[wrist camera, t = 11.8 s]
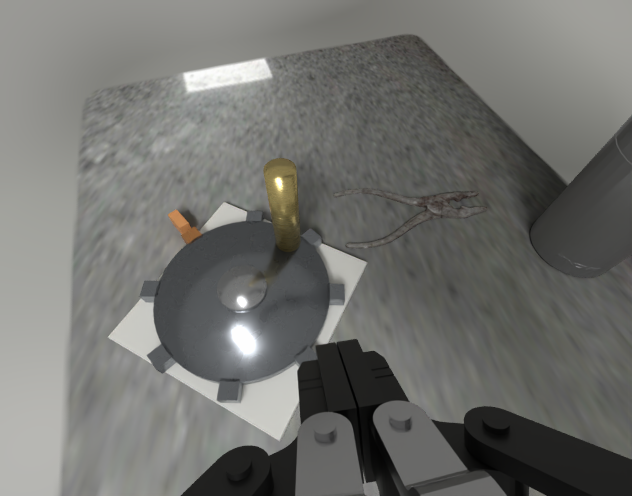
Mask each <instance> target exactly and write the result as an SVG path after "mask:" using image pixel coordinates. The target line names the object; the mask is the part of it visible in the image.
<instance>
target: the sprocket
mask: <svg viewBox="0 0 632 496" xmlns="http://www.w3.org/2000/svg"><path fill="white" fill-rule="evenodd" d="M264 177H265V183H266V188H267V194H268V200H269V206H270V211H271V217H272V223H268V222H264V217H263V212H262V211H247V217H246V221H242V222H235V223H230V224H226V225H222V226H220V227H217V228H214V229H212V230H210V231H207V232H205V233H203V234H201V233H200V232H199V231H198V230H197V229H196V228H195V227H193V228H191V229H190V230H188V231H187V232H185V233H184V234H182V235H181V236H182V238H183V240H184V241H185V243H186V244H187V245H186V246H185V247H184V248H183V249H181V250H180V251H179V252H178V253H177V254H176V256H175V257H174V258H173V259H172V260H171V262H170V263H169V265H168V266H167V267H166V269H165V271H164V273H163V275H162V276H161V278H160V281H144V284H143V287H142V290H141V293H140V296H139V297H141V298H142V299H143V300H144V301H145V302H148V303H154V306H153V316H154V324H155V328H156V332H157V335H158V337H159V340H160V342H161V344H160V345H159V346H158V347H156V348H155V349H154V350H153V351H151V352H150V353H149V354H147V357H148V358H149V360H150V361H151V363H152V364H153V366H154V367H155V368H156V370H158V371H159V372H161V373H164V372H165V371H166V370H168V369H169V368H170V367H171V366H173V365H174V364H175V363H176V362H177V363H178V364H179V365H180V366H182V367H183V368H184V369H186V370H187V371H188V372H190V373H192V374H193V375H195V376H197V377H199V378H201V379H204V380H206V381H209V382H213V383H217V384H219V388H218V394H217V401H219V402H220V403H241V396H242V388H243V385H247V384H252V383H257V382H261V381H264V380H267V379H270V378H272V377H274V376H277V375H279V374H281V373H283V372H284V371H286V370H287V369H289V368H290V367H292V366H293V365H295V364H296V365H297V366H298V367H300V365H301V363H302V362H304V361H311V360H317V358H316V353H315V352H314V351H313V350H312V349H311V348H312V346H313V345H314V344H315V342H316V341H317V339H318V338H319V336H320V334H321V332H322V330H323V328H324V325H325V322H326V319H327V315H328V310H329V305H344V302H345V284H330V283H329V277H328V273H327V270H326V267H325V265H324V262H323V260H322V259H321V257H320V255H319V254H318V252H317V251H316V250H315V249H316V248H318V247H319V246H320V245H321V238H322V237H321V236H319V235H318V234H317V233H316V232H315V231H313V230H312V229H311V228H310V229H309V230H308V231H306V232H305V233H304V234H302V235H301V236H300V222H299V206H298V190H297V174H296V166H295V164H294V163H293V162H292V161H290V160H288V159H284V158H277V159H273V160H271V161H269V162H268V163H267V164H266V165H265V166H264Z"/></svg>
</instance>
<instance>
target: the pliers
mask: <svg viewBox="0 0 632 496" xmlns="http://www.w3.org/2000/svg"><path fill="white" fill-rule="evenodd" d="M358 193H363V194H374V195H378V196H382V197H385V198H388V199H392V200H395V201H398V202H401V203H404V204H408V205H413V206H419V207H425V208H426V210H425V211H424V212H422V213H420V214H418V215H416V216H415V217H413V218H411V219H410V220H409V221H407V222H406V223H405V224H404V225H403V226H401V227H400V228H399V229H398V230H396V231H395V232H394V233H392V234H391V235H389V236H387V237H385V238H383V239H380V240H376V241H372V242H367V243H347V244H346V247H347V248H358V249H360V248H370V247H376V246H380V245H384V244H387V243H389V242H392V241H393V240H395V239H397V238H399V237H400V236H402V235H403V234H404V233H406V232H407V231H409V230H410V229H412V228H413V227H415V226H416V225H418V224H420V223H422V222H424V221H427V220H431V219H436V218H440V217H441V218H467V217H470V216H472V215H475V214H478V213H481V212H484V211H486V210H487V207H473V208H467V207H465V206H462V207H461V209H459V210H457V209H454V208H453V207H452V206H449V205H448V204H449V202H450V200H455V201H456V202H458V201H460V200H461V199H462V198H471V197H474V196H477V195H478V194H479V193H478V192H450V193H444V194H439V195H435V196H430V197H422V198H411V197H405V196H401V195H397V194H393V193H389V192H385V191H381V190H376V189H351V190H345V191H341V192H337V193H335V194H334V195H333V196H334V197H339V196H343V195H348V194H358Z"/></svg>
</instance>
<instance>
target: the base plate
mask: <svg viewBox="0 0 632 496" xmlns="http://www.w3.org/2000/svg"><path fill="white" fill-rule="evenodd" d="M168 216H169V218H170V220H171V221H172V223H173V225H174V226H175V227H176V228H177V229H178V230H179V231H180V233H181V234H184V233H185V232H187V231H188V230H190V229H191V227H190V225H189V223H188V222H187V221H186V220H185V218H184V217H183V216H182V215H181V214H180V213H179V212H178V211H177V210H175V211H173V212H171V213H170V214H168ZM246 217H247V212H246V211H244V210H242V209H239V208H237V207H234V206H232V205H230V204H227V203H225V202H224V203H223V204H222V205H221V206H220V208H219V209H218V210H217V211H216V212H215V213H214V215H213V216H212V217H211V218H210V219H209V220H208V222H207V223H206V224H205V225H204V226H203V227H202V229H201V230H200V231H199V232H200V233H201V234H203V233H205V232H207V231H210V230H212V229H214V228H217V227H220V226H222V225H226V224H230V223H235V222H242V221H246ZM264 222H268V223H272V222H270V221H268V220H265V219H264ZM300 236H301V234H300ZM315 250H316V251H317V252H318V254H319V255H320V257H321V259H322V260H323V262H324V265H325V267H326V270H327V273H328V277H329V283H330V284H345V302H344V305H329V310H328V315H327V319H326V322H325V325H324V328H323V330H322V332H321V334H320V336H319V338H318V339H317V341H316V342H315V344H314V345H313V346H312V348H311V349H312V350H313V351H314V352H315V353H316V350H315V345H320V344H327V343H329V341H330V339H331V337H332V335H333V333H334V331H335V329H336V327H337V325H338V323H339V321H340V319H341V317H342V315H343V313H344V310H345V308H346V306H347V304H348V302H349V300H350V298H351V296H352V294H353V292H354V290H355V288H356V286H357V284H358V282H359V280H360V278H361V276H362V274H363V272H364V270H365V268H366V265H367V262H365V261H363V260H360V259H358V258H355V257H353V256H351V255H348V254H346V253H344V252H341V251H339V250H336V249H334V248H332V247H329V246H327V245H325V244H322V243H321V245H320V246H319V247H318V248H316V249H315ZM162 275H163V274H162ZM162 275H161V276H162ZM161 276H160V277H159V278H158V280H157V281H160V278H161ZM153 306H154V303H148V302H145V301H144V300H143V299H142V298H141V299H140V300H139V302H138V303H137V304H136V305H135V306H134V307H133V309H132V310H131V311H130V312H129V313H128V314H127V316H126V317H125V318H124V319H123V320H122V321H121V322H120V324H119V325H118V326H117V327H116V328H115V329H114V331H113V332H112V333H111V334H110V335H109V336H108V338H110V339H111V340H113V341H115V342H116V343H118V344H120V345H121V346H123V347H125V348H126V349H128V350H130V351H131V352H133V353H135V354H136V355H138V356H140V357H141V358H143V359H145V360H146V361H148V362H150V363H151V361H150V360H149V358H148V357H147V354H149V353H150V352H151V351H153V350H154V349H155V348H156V347H158V346H159V345H160V344H161V342H160V340H159V337H158V335H157V332H156V328H155V324H154V316H153ZM151 364H152V363H151ZM298 369H299V367H298V366H297V365H296V364H295V365H293V366H292V367H290V368H289V369H287V370H286V371H284V372H283V373H281V374H279V375H277V376H274V377H272V378H270V379H267V380H264V381H261V382H257V383H252V384H247V385H243V388H242V396H241V403H220V402H219V401H217V394H218V388H219V384H217V383H213V382H209V381H206V380H204V379H201V378H199V377H197V376H195V375H193V374H192V373H190V372H188V371H187V370H186V369H184V368H183V367H182V366H180V365H179V364H178V363H177V362H176V363H175V364H174V365H173V366H171V367H170V368H169V369H168V370H166V371H165V372H166V373H168V374H169V375H171V376H173V377H174V378H176V379H178V380H179V381H181V382H183V383H184V384H186V385H188V386H189V387H191V388H193V389H194V390H196V391H198V392H199V393H201V394H203V395H204V396H206V397H207V398H209V399H211V400H212V401H214V402H216V403H217V404H219V405H221V406H222V407H224V408H226V409H227V410H229V411H231V412H232V413H234V414H236V415H237V416H239V417H241V418H242V419H244V420H246V421H247V422H249V423H251V424H252V425H254V426H256V427H257V428H259V429H260V430H262V431H264V432H265V433H267V434H269V435H270V436H272V437H274V438H275V439H277V440H279V441H281V439H282V437H283V435H284V433H285V431H286V429H287V427H288V425H289V423H290V421H291V419H292V417H293V414H294V412H295V410H296V408H297V406H298V404H299V391H298V378H297V370H298Z"/></svg>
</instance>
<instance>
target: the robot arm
mask: <svg viewBox="0 0 632 496" xmlns="http://www.w3.org/2000/svg"><path fill="white" fill-rule="evenodd" d="M530 235H531V241H532V244H533V246H534V248H535V249H536V251H537V253H538V254H539V255H540V256H541V257H542V258H543V259H544V260H545V261H546V262H547V263H549V264H550V265H551V266H553V267H554V268H556V269H558V270H560V271H562V272H564V273H566V274H569V275H573V276H576V277H584V278H588V277H596V276H600V275H602V274H603V273H605V272H607V271H608V270H610V269H611V268H613V267H614V266H616V265H617V264H619V263H620V262H622V261H623V260H625V259H626V258H628V257H630V256H631V255H632V115H631V117H630V118H629V119H628V120H627V121H626V122H625V123H624V124H623V125H622V127H621V128H620V129H619V130H618V131H617V132H616V133H615V134H614V136H613V137H612V138H611V139H610V140H609V141H608V142H607V144H605V146H604V147H603V148H602V149H601V150H600V151H599V152H598V153H597V155H595V157H594V158H593V159H592V160H591V161H590V162H589V163H588V164H587V166H585V168H584V169H583V170H582V171H581V172H580V173H579V174H578V175H577V176H576V177H575V179H574V180H573V181H572V182H571V183H570V184H569V185H568V186H567V187H566V188H565V190H564V191H563V192H562V193H561V194H560V195H559V196H558V197H557V198H556V199H555V200H554V201H553V203H552V204H551V205H550V206H549V207H548V208H547V209H546V210H545V211H544V212H543V214H542V215H541V216H540V217H539V218H538V219H537V220H536V221H535V222H534V224H533V226H532V227H531V232H530ZM315 350H316V358H317V360H311V361H304V362H302V363H301V365H300V367H299V369H298V370H297V378H298V391H299V405H300V418H301V426H300V428H299V430H298V436H297V437H296V439H295V440H294V441H293V442H292V443H291V444H290V445H289V446H287V447H286V448H284V449H282V450H280V451H278V452H276V453H274V454H272V455H270V456H268V454H267V453H266V452H265V451H264V450H263V449H261V448H259V447H257V446H241V447H237V448H235V449H232V450H230V451H228V452H227V453H225V454H224V455H222V456H221V457H220V458H219V459H218V460H217V461H216V462H215V463H214V464H213V465H212V466H211V467H210V468H209V469H208V470H207V471H206V472H205V473H204V474H202V475H201V476H200V477H199V478H198V479H197V480H196V481H195V482H194V483H193V484H192V485H191V486H190V487H189V488H188V489H187V490H186V491H185V492H184V493H183V494H182V495H181V496H365V495H364V489H363V484H364V479H363V473H364V476H365V480H366V483H368V482H374V481H376V483H377V486H378V489H379V494H380V496H529V487H531V488H533V489H535V490H537V491H539V492H541V493H543V494H545V495H547V496H632V460H631V459H629V458H626V457H624V456H621V455H619V454H616V453H613V452H611V451H608V450H606V449H603V448H601V447H598V446H596V445H593V444H590V443H588V442H585V441H583V440H580V439H578V438H575V437H572V436H570V435H567V434H565V433H562V432H560V431H557V430H555V429H552V428H549V427H547V426H544V425H542V424H539V423H537V422H534V421H532V420H529V419H526V418H524V417H521V416H519V415H516V414H514V413H511V412H509V411H506V410H503V409H500V408H496V407H487V406H484V407H477V408H474V409H471V410H470V411H468V412H467V413H466V415H465V417H464V424H460V423H447V422H439V421H435V420H432V419H430V418H429V417H428V415H427V414H426V412H425V411H424V410H423V409H422V408H420V407H419V406H417V405H415V404H413V403H410V402H409V400H408V398H407V397H406V395H405V393H404V391H403V390H402V388H401V386H400V384H399V383H398V381H397V379H396V377H395V376H394V374H393V372H392V370H391V369H390V368H389V365H388V363H387V362H386V360H385V358H384V357H383V356H381V355H380V354H378V353H377V352H375V351H369V352H363V351H362V349H361V347H360V345H359V342H358V340H357V339H353V340H347V341H340V342H337V343H335V342H334V343H327V344H320V345H315Z"/></svg>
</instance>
